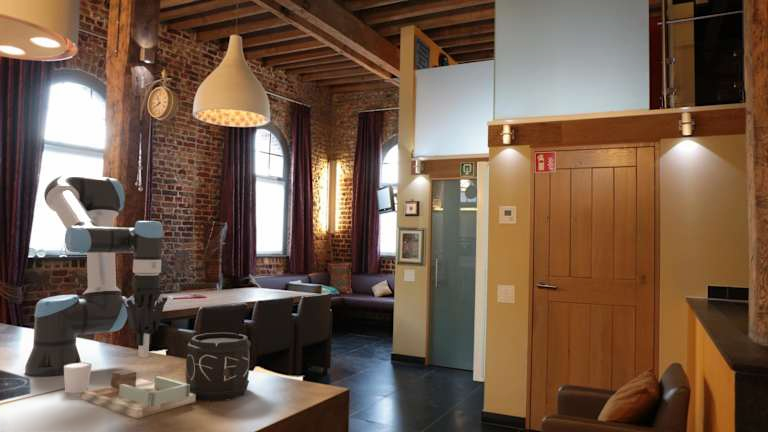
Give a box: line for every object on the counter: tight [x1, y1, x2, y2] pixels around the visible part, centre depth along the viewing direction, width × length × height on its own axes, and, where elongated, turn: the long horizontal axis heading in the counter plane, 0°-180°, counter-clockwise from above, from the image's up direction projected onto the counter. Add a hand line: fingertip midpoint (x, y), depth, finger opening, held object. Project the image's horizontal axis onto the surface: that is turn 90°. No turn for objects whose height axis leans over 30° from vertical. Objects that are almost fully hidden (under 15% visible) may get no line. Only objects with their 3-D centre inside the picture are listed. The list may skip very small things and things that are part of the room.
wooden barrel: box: [185, 332, 251, 402], centre depth 155 cm, size 18×18×16 cm
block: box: [110, 368, 137, 389], centre depth 151 cm, size 4×4×4 cm
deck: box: [80, 378, 197, 419], centre depth 146 cm, size 25×17×2 cm
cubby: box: [119, 375, 190, 407], centre depth 143 cm, size 14×12×3 cm
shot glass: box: [63, 362, 92, 394], centre depth 153 cm, size 7×7×7 cm
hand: (143, 356), depth 156 cm, fingers closed
